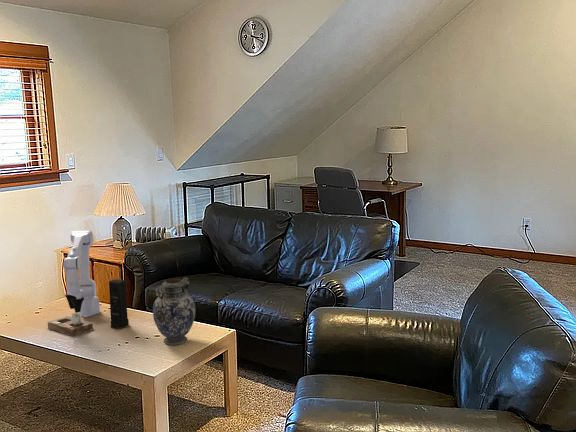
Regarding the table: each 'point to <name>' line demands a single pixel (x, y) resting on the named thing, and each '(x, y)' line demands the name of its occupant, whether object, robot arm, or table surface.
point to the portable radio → (118, 303)
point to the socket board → (69, 326)
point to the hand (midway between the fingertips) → (75, 310)
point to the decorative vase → (174, 310)
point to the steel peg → (76, 319)
